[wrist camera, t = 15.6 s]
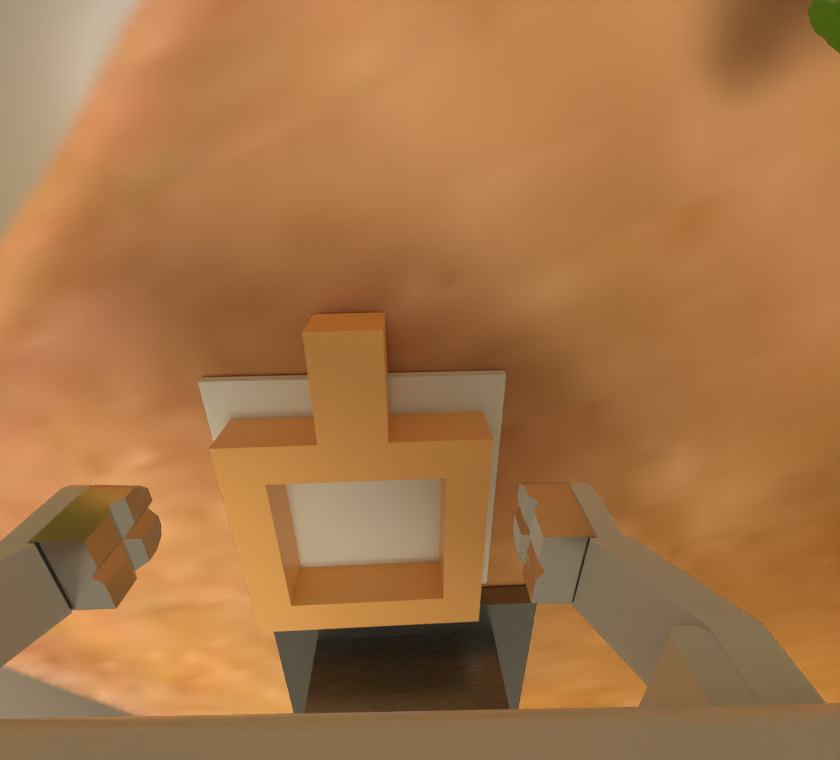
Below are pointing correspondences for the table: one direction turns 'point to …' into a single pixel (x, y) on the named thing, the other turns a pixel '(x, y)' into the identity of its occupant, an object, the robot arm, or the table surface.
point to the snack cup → (826, 20)
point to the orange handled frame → (352, 462)
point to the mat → (366, 500)
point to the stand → (414, 662)
